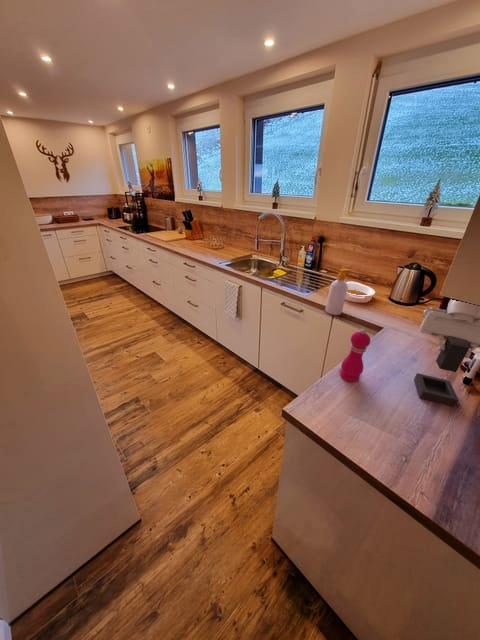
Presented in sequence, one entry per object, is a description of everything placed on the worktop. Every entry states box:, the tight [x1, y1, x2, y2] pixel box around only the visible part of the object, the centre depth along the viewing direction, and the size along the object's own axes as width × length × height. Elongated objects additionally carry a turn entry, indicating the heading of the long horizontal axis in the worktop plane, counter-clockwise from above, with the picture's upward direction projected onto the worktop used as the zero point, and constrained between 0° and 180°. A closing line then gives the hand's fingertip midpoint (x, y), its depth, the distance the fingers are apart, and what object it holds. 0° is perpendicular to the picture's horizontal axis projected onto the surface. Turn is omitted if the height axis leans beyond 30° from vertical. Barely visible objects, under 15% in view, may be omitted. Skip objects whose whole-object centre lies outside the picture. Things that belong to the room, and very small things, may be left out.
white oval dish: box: [345, 280, 376, 303], centre depth 162 cm, size 29×22×5 cm
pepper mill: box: [340, 328, 371, 383], centre depth 91 cm, size 7×7×20 cm
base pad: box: [413, 372, 459, 408], centre depth 89 cm, size 10×10×3 cm
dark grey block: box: [435, 336, 471, 373], centre depth 82 cm, size 5×5×10 cm
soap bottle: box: [324, 268, 354, 316], centre depth 137 cm, size 9×9×24 cm
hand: (453, 353), depth 81 cm, fingers closed on dark grey block, 5 cm apart
